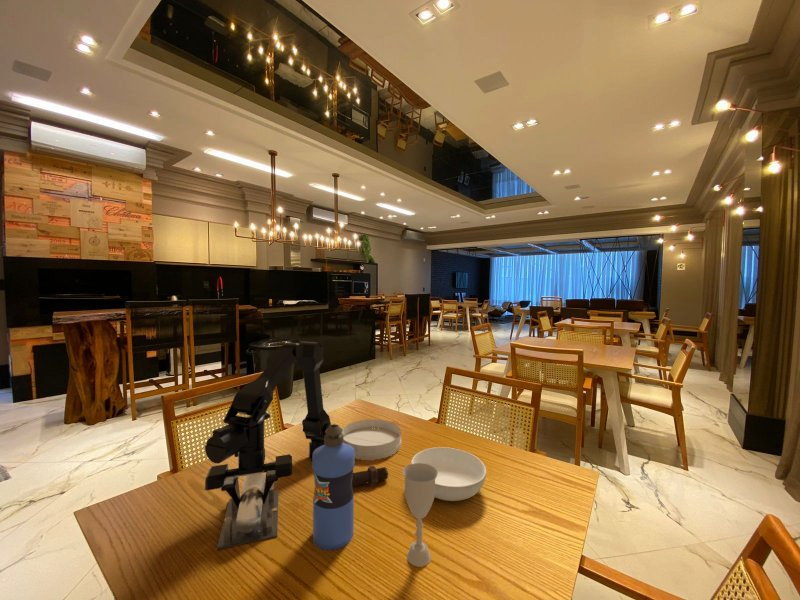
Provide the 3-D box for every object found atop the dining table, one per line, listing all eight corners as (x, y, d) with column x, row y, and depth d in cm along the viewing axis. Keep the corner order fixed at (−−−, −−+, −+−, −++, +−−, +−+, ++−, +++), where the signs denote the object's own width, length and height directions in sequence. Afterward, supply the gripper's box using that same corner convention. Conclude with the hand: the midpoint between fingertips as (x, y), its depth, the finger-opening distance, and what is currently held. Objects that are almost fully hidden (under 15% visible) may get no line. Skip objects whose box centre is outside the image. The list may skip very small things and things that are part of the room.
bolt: (387, 487, 94) (336, 497, 89) (382, 470, 98) (333, 479, 93) (391, 475, 92) (339, 485, 86) (386, 459, 96) (336, 467, 90)
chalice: (436, 545, 70) (437, 464, 70) (436, 572, 64) (438, 482, 63) (403, 542, 71) (403, 462, 71) (400, 568, 64) (400, 480, 64)
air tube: (265, 487, 87) (264, 469, 87) (261, 529, 72) (260, 507, 72) (244, 492, 85) (243, 473, 85) (236, 536, 70) (234, 513, 70)
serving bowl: (488, 519, 79) (489, 491, 79) (404, 506, 83) (404, 480, 83) (483, 472, 99) (484, 450, 99) (416, 464, 103) (416, 443, 103)
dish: (328, 455, 109) (328, 440, 109) (355, 428, 130) (355, 416, 130) (390, 466, 103) (390, 450, 102) (408, 436, 124) (408, 423, 124)
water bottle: (336, 514, 80) (336, 414, 79) (362, 532, 74) (363, 425, 73) (303, 536, 73) (303, 426, 72) (330, 558, 67) (330, 439, 66)
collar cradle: (278, 491, 88) (278, 478, 88) (277, 536, 72) (277, 520, 72) (229, 501, 84) (229, 487, 84) (216, 550, 68) (216, 533, 68)
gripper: (291, 423, 89) (291, 479, 89) (214, 433, 82) (214, 493, 83) (292, 442, 78) (292, 504, 79) (204, 454, 72) (204, 523, 72)
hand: (251, 505), depth 78 cm, fingers closed on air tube, 5 cm apart
